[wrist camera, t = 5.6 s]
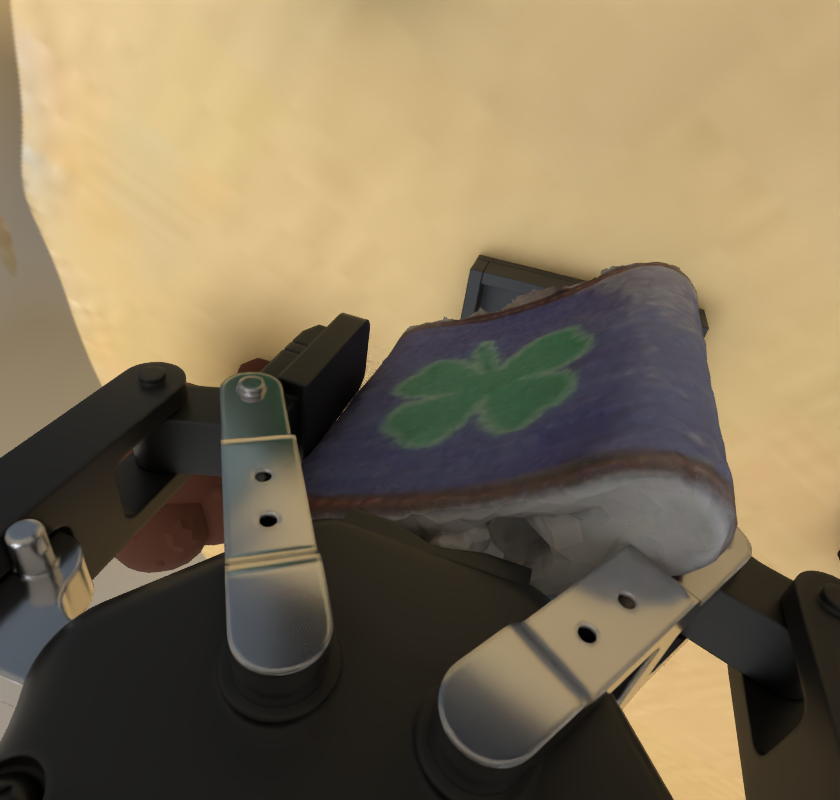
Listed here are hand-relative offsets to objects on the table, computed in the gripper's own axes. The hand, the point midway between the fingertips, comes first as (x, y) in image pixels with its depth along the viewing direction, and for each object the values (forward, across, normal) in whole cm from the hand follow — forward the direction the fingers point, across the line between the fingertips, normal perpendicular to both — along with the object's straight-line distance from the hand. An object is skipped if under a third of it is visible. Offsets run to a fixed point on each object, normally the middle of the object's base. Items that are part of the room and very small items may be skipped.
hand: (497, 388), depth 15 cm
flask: (+3, 0, 0) cm, 3 cm away
